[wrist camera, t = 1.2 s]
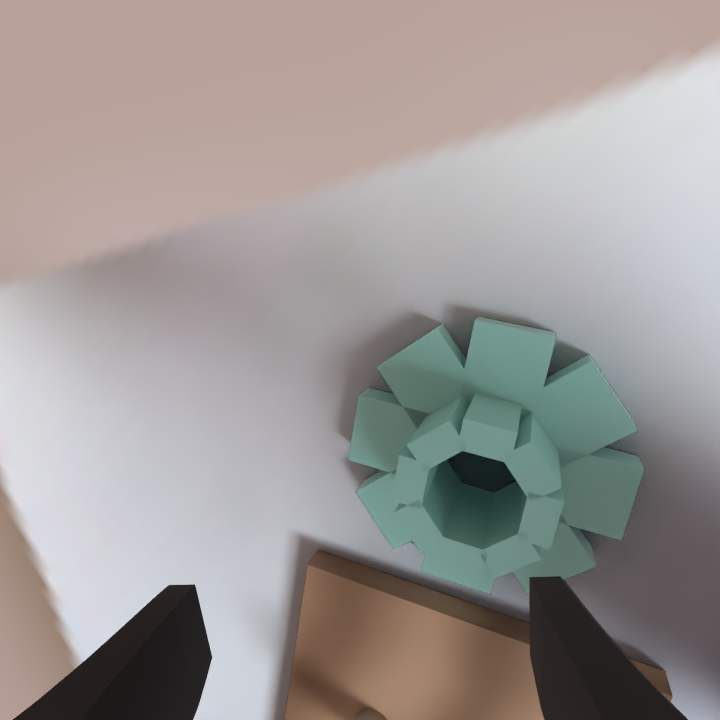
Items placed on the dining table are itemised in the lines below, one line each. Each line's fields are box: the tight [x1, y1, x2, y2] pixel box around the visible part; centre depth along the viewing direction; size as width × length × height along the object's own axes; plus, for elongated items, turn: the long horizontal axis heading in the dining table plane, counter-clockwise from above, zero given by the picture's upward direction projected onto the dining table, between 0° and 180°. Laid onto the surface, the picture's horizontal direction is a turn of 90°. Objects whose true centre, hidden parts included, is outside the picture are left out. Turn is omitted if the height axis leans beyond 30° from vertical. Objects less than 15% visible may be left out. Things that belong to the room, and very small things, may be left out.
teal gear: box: [348, 317, 644, 595], centre depth 18 cm, size 10×10×4 cm
